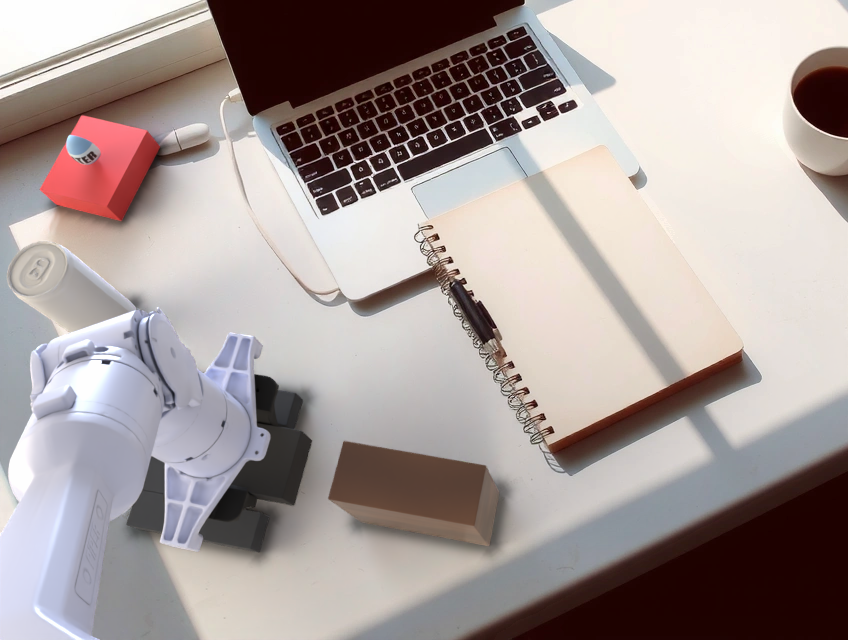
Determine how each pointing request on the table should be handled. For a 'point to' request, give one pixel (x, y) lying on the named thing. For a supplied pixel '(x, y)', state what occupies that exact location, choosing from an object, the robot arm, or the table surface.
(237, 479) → the black pad
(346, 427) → the table surface
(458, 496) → the brown wooden brick
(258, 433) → the robot arm
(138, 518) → the base pad
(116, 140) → the red slab
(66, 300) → the beverage can
